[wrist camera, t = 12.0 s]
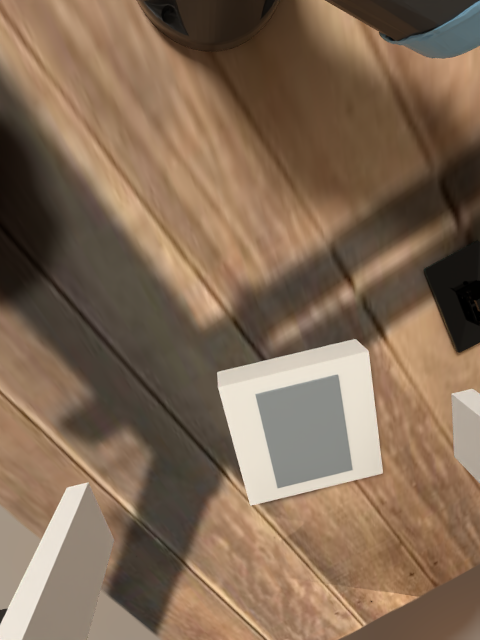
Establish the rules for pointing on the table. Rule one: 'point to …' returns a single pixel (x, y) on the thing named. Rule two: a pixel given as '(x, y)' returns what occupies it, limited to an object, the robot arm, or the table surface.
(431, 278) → the black stand
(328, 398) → the plinth
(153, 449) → the table surface
